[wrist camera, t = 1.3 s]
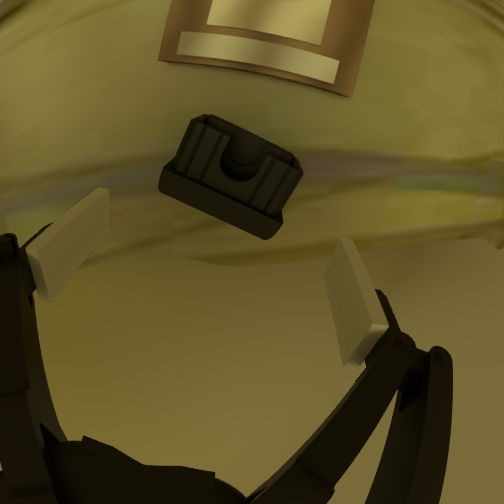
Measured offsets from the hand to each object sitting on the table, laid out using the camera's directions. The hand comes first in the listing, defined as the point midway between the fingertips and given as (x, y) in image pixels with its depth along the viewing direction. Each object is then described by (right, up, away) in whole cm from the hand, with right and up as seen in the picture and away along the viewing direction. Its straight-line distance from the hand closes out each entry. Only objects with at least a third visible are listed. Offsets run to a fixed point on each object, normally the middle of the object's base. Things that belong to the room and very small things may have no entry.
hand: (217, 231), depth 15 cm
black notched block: (0, +7, +11) cm, 13 cm away
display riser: (+4, +22, +1) cm, 22 cm away
